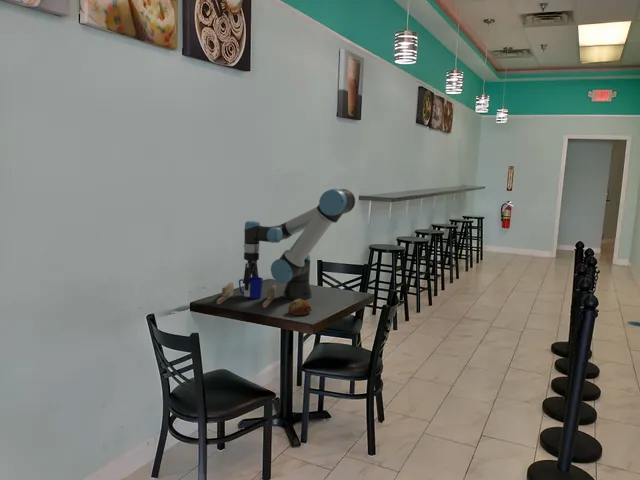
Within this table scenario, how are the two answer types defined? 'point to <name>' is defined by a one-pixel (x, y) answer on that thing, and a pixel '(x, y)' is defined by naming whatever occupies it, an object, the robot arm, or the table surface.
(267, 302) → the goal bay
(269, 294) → the tunnel walls
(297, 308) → the bread roll
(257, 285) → the mug
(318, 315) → the table surface
